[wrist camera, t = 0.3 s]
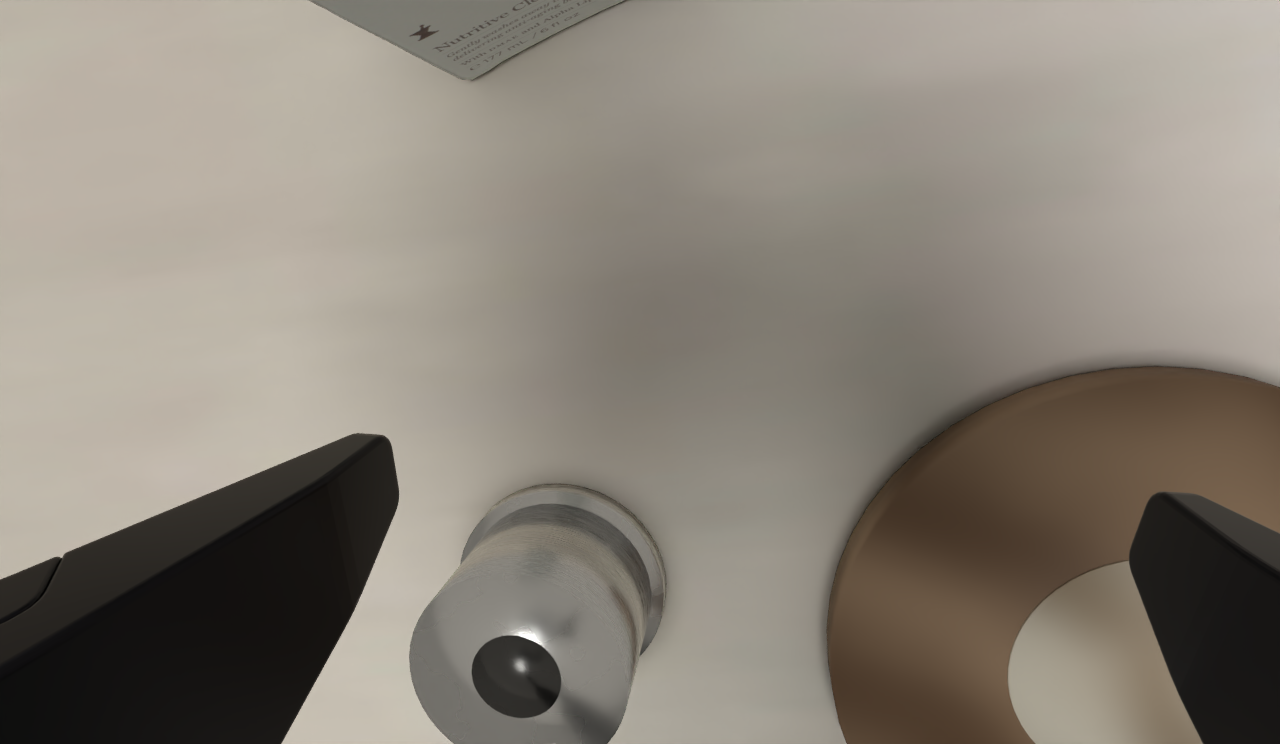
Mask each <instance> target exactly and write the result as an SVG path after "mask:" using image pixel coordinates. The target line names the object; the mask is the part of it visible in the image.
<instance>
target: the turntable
mask: <svg viewBox="0 0 1280 744" xmlns="http://www.w3.org/2000/svg"><path fill="white" fill-rule="evenodd" d="M1161 491H1167V492H1181V493H1193V494H1198V495H1201V496H1203V497H1205V498H1207V499H1209V500H1211V501H1214V502H1216V503H1218V504H1220V505H1222V506H1224V507H1226V508H1228V509H1230V510H1232V511H1234V512H1236V513H1239V514H1241V515H1243V516H1245V517H1247V518H1249V519H1251V520H1253V521H1255V522H1257V523H1259V524H1261V525H1264V526H1266V527H1268V528H1270V529H1272V530H1274V531H1276V532H1278V533H1280V387H1277V386H1274V385H1271V384H1267V383H1264V382H1261V381H1258V380H1255V379H1251V378H1248V377H1244V376H1238V375H1233V374H1227V373H1221V372H1216V371H1210V370H1205V369H1193V368H1176V367H1159V366H1156V367H1138V368H1121V369H1109V370H1104V371H1098V372H1092V373H1086V374H1081V375H1075V376H1069V377H1065V378H1062V379H1059V380H1055V381H1052V382H1048V383H1045V384H1042V385H1038V386H1035V387H1031V388H1028V389H1025V390H1023V391H1020V392H1018V393H1016V394H1013V395H1011V396H1009V397H1006V398H1004V399H1002V400H999V401H997V402H994V403H992V404H990V405H987V406H986V407H984V408H982V409H980V410H979V411H977V412H975V413H973V414H972V415H970V416H968V417H966V418H965V419H963V420H961V421H959V422H958V423H956V424H954V425H952V426H951V427H949V428H948V429H947V430H945V431H944V432H943V433H941V434H940V435H939V436H937V437H936V438H935V439H933V440H932V441H931V442H929V443H928V444H927V445H925V446H924V447H923V448H921V449H920V450H919V451H918V452H917V453H916V454H915V455H913V456H912V457H911V458H910V459H909V460H908V461H907V462H906V463H905V464H904V465H903V466H902V467H901V468H900V469H899V470H898V471H897V472H896V473H895V474H894V475H893V476H892V477H891V478H890V479H889V480H888V482H887V483H886V484H885V485H884V487H883V488H882V489H881V490H880V492H879V493H878V494H877V495H876V497H875V498H874V499H873V500H872V502H871V503H870V504H869V506H868V507H867V509H866V511H865V512H864V514H863V516H862V517H861V519H860V521H859V522H858V524H857V526H856V527H855V529H854V531H853V532H852V534H851V536H850V539H849V541H848V543H847V546H846V548H845V550H844V553H843V555H842V558H841V560H840V562H839V565H838V568H837V572H836V576H835V580H834V583H833V587H832V591H831V595H830V601H829V611H828V620H827V648H828V663H829V670H830V677H831V683H832V690H833V695H834V700H835V705H836V710H837V715H838V720H839V723H840V726H841V729H842V732H843V734H844V737H845V740H846V743H847V744H1203V743H1202V741H1201V739H1200V737H1199V735H1198V733H1197V731H1196V729H1195V727H1194V725H1193V723H1192V721H1191V719H1190V717H1189V715H1188V713H1187V711H1186V709H1185V707H1184V705H1183V703H1182V701H1181V699H1180V697H1179V694H1178V692H1177V690H1176V687H1175V685H1174V683H1173V680H1172V678H1171V676H1170V673H1169V671H1168V668H1167V665H1166V663H1165V660H1164V658H1163V655H1162V652H1161V650H1160V647H1159V644H1158V642H1157V639H1156V637H1155V634H1154V631H1153V629H1152V626H1151V623H1150V621H1149V618H1148V615H1147V613H1146V610H1145V608H1144V605H1143V602H1142V600H1141V597H1140V594H1139V592H1138V589H1137V587H1136V584H1135V581H1134V579H1133V576H1132V573H1131V570H1130V565H1129V552H1130V547H1131V544H1132V542H1133V539H1134V536H1135V534H1136V531H1137V528H1138V525H1139V523H1140V520H1141V517H1142V515H1143V512H1144V509H1145V507H1146V504H1147V502H1148V500H1149V499H1150V497H1151V496H1152V495H1154V494H1155V493H1157V492H1161Z"/></svg>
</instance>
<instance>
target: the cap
mask: <svg viewBox="0 0 1280 744" xmlns="http://www.w3.org/2000/svg"><path fill="white" fill-rule="evenodd" d="M665 597H666V577H665V570H664V566H663V562H662V558H661V556H660V553H659V551H658V548H657V546H656V544H655V542H654V541H653V539H652V537H651V535H650V534H649V533H648V531H647V530H646V528H645V527H644V526H643V524H642V523H641V522H640V521H639V520H638V519H637V518H636V517H635V516H634V515H633V514H632V513H631V512H629V511H628V510H627V509H626V508H625V507H623V506H622V505H621V504H619V503H617V502H616V501H614V500H613V499H611V498H609V497H607V496H605V495H603V494H601V493H599V492H596V491H593V490H590V489H588V488H584V487H580V486H575V485H568V484H544V485H538V486H532V487H529V488H526V489H523V490H520V491H518V492H516V493H513V494H511V495H509V496H508V497H506V498H505V499H503V500H502V501H500V502H499V503H498V504H496V505H495V506H494V507H493V508H492V509H491V510H490V511H489V512H488V513H487V514H486V516H485V517H484V518H483V519H482V520H481V522H480V523H479V524H478V525H477V526H476V527H475V529H474V530H473V532H472V534H471V535H470V537H469V539H468V541H467V543H466V546H465V548H464V551H463V555H462V559H461V564H460V566H459V567H458V569H457V570H456V571H455V572H454V574H453V575H452V576H451V577H450V579H449V580H448V581H447V582H446V584H445V585H444V586H443V587H442V589H441V590H440V591H439V592H438V594H437V595H436V596H435V597H434V599H433V600H432V601H431V602H430V604H429V605H428V606H427V607H426V609H425V610H424V612H423V613H422V615H421V617H420V618H419V620H418V622H417V624H416V627H415V629H414V632H413V636H412V640H411V644H410V655H409V660H410V672H411V677H412V682H413V685H414V688H415V691H416V694H417V696H418V699H419V701H420V703H421V705H422V707H423V708H424V710H425V712H426V713H427V715H428V716H429V718H430V719H431V721H432V722H433V723H434V724H435V726H436V727H437V728H438V729H439V730H440V731H441V732H442V733H443V734H444V735H445V736H446V737H447V738H448V739H449V740H450V741H451V742H453V743H454V744H607V743H608V742H609V741H610V739H611V738H612V737H613V735H614V734H615V733H616V731H617V729H618V727H619V725H620V723H621V721H622V719H623V716H624V713H625V710H626V706H627V702H628V698H629V694H630V691H631V687H632V683H633V679H634V675H635V671H636V667H637V663H638V659H639V656H640V655H641V654H642V653H643V652H644V651H645V650H646V648H647V647H648V646H649V644H650V643H651V641H652V639H653V638H654V636H655V634H656V632H657V629H658V626H659V624H660V621H661V617H662V612H663V608H664V602H665Z"/></svg>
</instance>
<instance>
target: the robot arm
mask: <svg viewBox="0 0 1280 744" xmlns="http://www.w3.org/2000/svg"><path fill="white" fill-rule="evenodd" d="M398 501H399V487H398V481H397V475H396V469H395V463H394V457H393V450H392V446H391V443H390V441H389V439H388V438H386V437H385V436H383V435H376V434H362V433H356V434H352V435H349V436H347V437H344V438H342V439H339V440H337V441H335V442H332V443H330V444H327V445H325V446H323V447H320V448H318V449H315V450H313V451H310V452H308V453H306V454H303V455H301V456H298V457H296V458H294V459H291V460H289V461H286V462H284V463H281V464H279V465H277V466H274V467H272V468H269V469H267V470H265V471H262V472H260V473H257V474H255V475H253V476H250V477H248V478H245V479H243V480H240V481H238V482H236V483H233V484H231V485H228V486H226V487H224V488H221V489H219V490H216V491H214V492H211V493H209V494H207V495H204V496H202V497H199V498H197V499H195V500H192V501H190V502H187V503H185V504H183V505H180V506H178V507H175V508H173V509H170V510H168V511H166V512H163V513H161V514H158V515H156V516H154V517H151V518H149V519H146V520H144V521H142V522H139V523H137V524H134V525H132V526H129V527H127V528H125V529H122V530H120V531H117V532H115V533H113V534H110V535H108V536H105V537H103V538H100V539H98V540H96V541H93V542H91V543H88V544H86V545H84V546H81V547H79V548H76V549H74V550H72V551H69V552H67V553H65V554H64V556H63V558H60V557H54V558H52V559H49V560H47V561H45V562H42V563H40V564H37V565H35V566H33V567H30V568H28V569H25V570H23V571H20V572H18V573H16V574H13V575H11V576H8V577H6V578H3V579H1V580H0V744H281V743H282V742H283V740H284V738H285V736H286V734H287V732H288V731H289V729H290V727H291V725H292V723H293V722H294V720H295V718H296V716H297V714H298V712H299V711H300V709H301V707H302V705H303V703H304V702H305V700H306V698H307V696H308V694H309V693H310V691H311V689H312V687H313V685H314V683H315V682H316V680H317V678H318V676H319V674H320V673H321V671H322V669H323V667H324V665H325V663H326V662H327V660H328V658H329V656H330V654H331V653H332V651H333V649H334V647H335V645H336V644H337V642H338V640H339V638H340V636H341V634H342V633H343V631H344V629H345V627H346V625H347V623H348V621H349V619H350V618H351V616H352V614H353V612H354V610H355V607H356V605H357V603H358V601H359V599H360V596H361V594H362V592H363V589H364V587H365V585H366V582H367V580H368V577H369V575H370V572H371V570H372V568H373V565H374V563H375V560H376V558H377V555H378V553H379V551H380V548H381V546H382V543H383V541H384V539H385V536H386V534H387V531H388V529H389V526H390V524H391V522H392V519H393V517H394V514H395V512H396V509H397V506H398ZM1129 565H1130V570H1131V573H1132V576H1133V579H1134V581H1135V584H1136V587H1137V589H1138V592H1139V594H1140V597H1141V600H1142V602H1143V605H1144V608H1145V610H1146V613H1147V615H1148V618H1149V621H1150V623H1151V626H1152V629H1153V631H1154V634H1155V637H1156V639H1157V642H1158V644H1159V647H1160V650H1161V652H1162V655H1163V658H1164V660H1165V663H1166V665H1167V668H1168V671H1169V673H1170V676H1171V678H1172V680H1173V683H1174V685H1175V687H1176V690H1177V692H1178V694H1179V697H1180V699H1181V701H1182V703H1183V705H1184V707H1185V709H1186V711H1187V713H1188V715H1189V717H1190V719H1191V721H1192V723H1193V725H1194V727H1195V729H1196V731H1197V733H1198V735H1199V737H1200V739H1201V741H1202V743H1203V744H1280V533H1278V532H1276V531H1274V530H1272V529H1270V528H1268V527H1266V526H1264V525H1261V524H1259V523H1257V522H1255V521H1253V520H1251V519H1249V518H1247V517H1245V516H1243V515H1241V514H1239V513H1236V512H1234V511H1232V510H1230V509H1228V508H1226V507H1224V506H1222V505H1220V504H1218V503H1216V502H1214V501H1211V500H1209V499H1207V498H1205V497H1203V496H1201V495H1198V494H1193V493H1181V492H1167V491H1161V492H1157V493H1155V494H1154V495H1152V496H1151V497H1150V499H1149V500H1148V502H1147V504H1146V507H1145V509H1144V512H1143V515H1142V517H1141V520H1140V523H1139V525H1138V528H1137V531H1136V534H1135V536H1134V539H1133V542H1132V544H1131V547H1130V552H1129Z"/></svg>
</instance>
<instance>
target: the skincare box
mask: <svg viewBox="0 0 1280 744" xmlns="http://www.w3.org/2000/svg"><path fill="white" fill-rule="evenodd" d="M309 1H311V2H313V3H314V4H316V5H318V6H320V7H322V8H325V9H327V10H328V11H330V12H332V13H334V14H335V15H337V16H339V17H341V18H343V19H345V20H347V21H348V22H350V23H352V24H354V25H356V26H358V27H360V28H362V29H364V30H366V31H368V32H370V33H372V34H374V35H376V36H378V37H380V38H382V39H384V40H386V41H388V42H390V43H392V44H394V45H395V46H397V47H399V48H401V49H403V50H405V51H406V52H408V53H410V54H412V55H414V56H416V57H418V58H420V59H422V60H424V61H426V62H428V63H430V64H431V65H433V66H435V67H437V68H440V69H442V70H443V71H445V72H448V73H450V74H451V75H453V76H455V77H457V78H459V79H462V80H466V79H469V80H473V79H475V78H476V77H478V76H480V75H482V74H483V73H485V72H487V71H489V70H490V69H492V68H493V67H495V66H496V65H498V64H499V63H501V62H502V61H504V60H506V59H508V58H510V57H512V56H513V55H515V54H517V53H519V52H521V51H523V50H525V49H526V48H528V47H530V46H532V45H534V44H536V43H538V42H540V41H542V40H544V39H546V38H547V37H549V36H551V35H553V34H555V33H557V32H559V31H561V30H563V29H565V28H567V27H569V26H571V25H573V24H575V23H577V22H579V21H582V20H584V19H586V18H588V17H590V16H592V15H594V14H596V13H598V12H600V11H602V10H604V9H606V8H609V7H611V6H613V5H615V4H618V3H620V2H622V1H624V0H309Z"/></svg>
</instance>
